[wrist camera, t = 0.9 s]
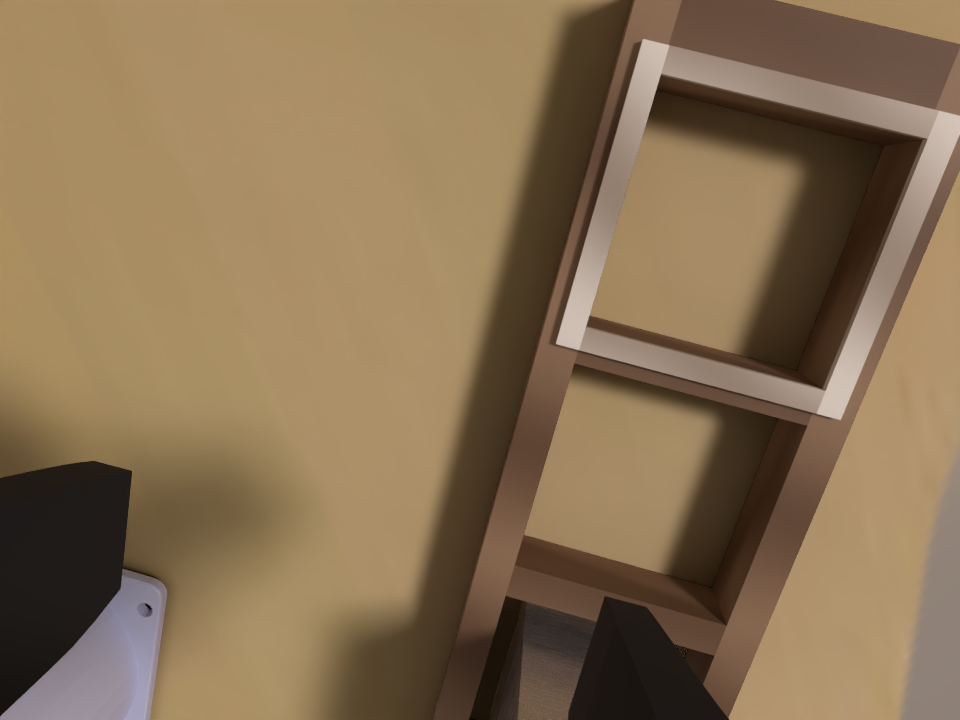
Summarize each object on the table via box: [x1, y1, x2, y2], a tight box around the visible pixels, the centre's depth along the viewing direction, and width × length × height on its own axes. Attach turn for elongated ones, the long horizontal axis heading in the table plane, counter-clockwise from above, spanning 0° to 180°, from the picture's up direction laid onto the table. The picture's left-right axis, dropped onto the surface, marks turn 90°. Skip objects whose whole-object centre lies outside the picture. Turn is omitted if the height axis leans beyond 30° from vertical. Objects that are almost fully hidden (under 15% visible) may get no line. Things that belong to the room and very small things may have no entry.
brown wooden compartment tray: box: [432, 0, 960, 720], centre depth 18 cm, size 24×8×2 cm, turn 166°
